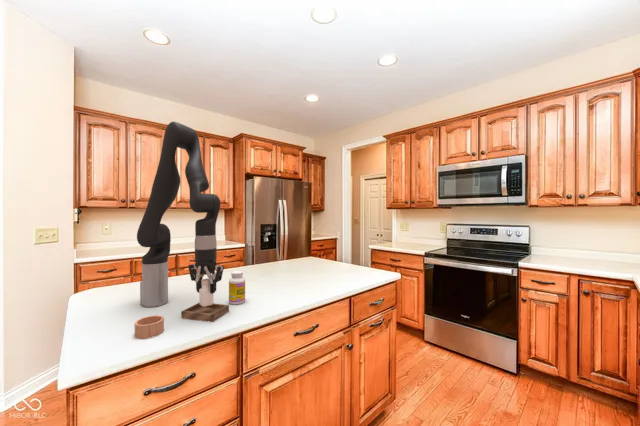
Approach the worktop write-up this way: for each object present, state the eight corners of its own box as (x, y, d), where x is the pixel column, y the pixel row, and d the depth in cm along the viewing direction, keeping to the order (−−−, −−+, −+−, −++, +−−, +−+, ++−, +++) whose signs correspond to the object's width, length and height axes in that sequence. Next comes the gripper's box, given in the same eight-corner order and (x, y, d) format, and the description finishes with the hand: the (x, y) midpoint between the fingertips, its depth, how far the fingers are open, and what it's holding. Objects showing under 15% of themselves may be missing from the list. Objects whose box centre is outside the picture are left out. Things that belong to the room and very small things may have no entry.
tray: (181, 318, 98) (181, 311, 98) (199, 308, 107) (199, 302, 107) (212, 322, 94) (212, 315, 94) (228, 311, 104) (228, 305, 104)
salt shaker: (203, 307, 98) (203, 281, 98) (198, 305, 101) (198, 279, 101) (214, 304, 101) (213, 279, 101) (209, 302, 104) (208, 277, 104)
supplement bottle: (236, 306, 110) (236, 274, 110) (225, 303, 113) (225, 272, 113) (248, 301, 116) (248, 271, 115) (237, 298, 119) (237, 269, 119)
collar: (128, 336, 84) (128, 324, 83) (150, 326, 91) (149, 314, 91) (149, 339, 82) (149, 326, 82) (169, 328, 89) (169, 316, 89)
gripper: (228, 246, 102) (228, 290, 103) (196, 245, 106) (196, 288, 106) (216, 249, 95) (217, 297, 96) (182, 248, 99) (182, 294, 99)
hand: (206, 292), depth 101 cm, fingers closed on salt shaker, 5 cm apart
